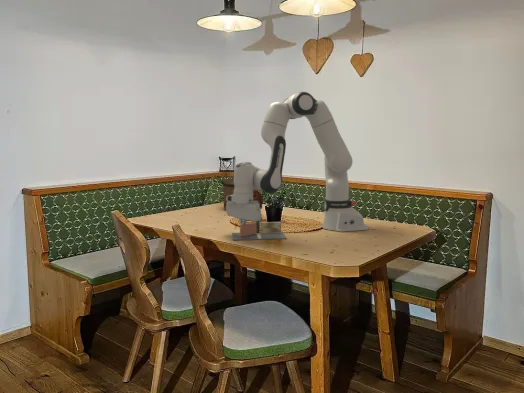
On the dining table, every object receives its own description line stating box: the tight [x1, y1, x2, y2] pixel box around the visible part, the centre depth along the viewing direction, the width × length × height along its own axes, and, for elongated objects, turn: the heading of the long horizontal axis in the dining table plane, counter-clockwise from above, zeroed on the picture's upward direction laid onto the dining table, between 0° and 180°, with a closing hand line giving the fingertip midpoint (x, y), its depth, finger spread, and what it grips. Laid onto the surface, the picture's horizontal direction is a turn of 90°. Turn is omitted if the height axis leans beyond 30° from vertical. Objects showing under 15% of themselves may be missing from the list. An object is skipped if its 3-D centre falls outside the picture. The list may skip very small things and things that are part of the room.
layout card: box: [231, 230, 287, 241], centre depth 219 cm, size 24×13×1 cm, turn 96°
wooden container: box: [223, 173, 235, 211], centre depth 285 cm, size 15×15×22 cm
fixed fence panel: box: [256, 220, 282, 233], centre depth 223 cm, size 12×2×6 cm, turn 96°
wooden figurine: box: [248, 189, 263, 221], centre depth 253 cm, size 12×6×18 cm, turn 134°
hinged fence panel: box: [239, 222, 257, 236], centre depth 219 cm, size 10×1×5 cm, turn 135°
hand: (243, 228), depth 218 cm, fingers closed
